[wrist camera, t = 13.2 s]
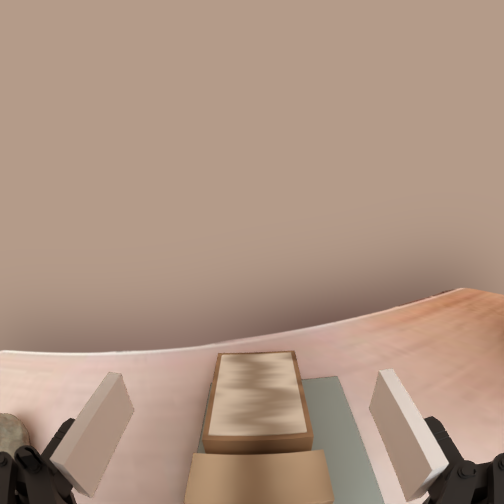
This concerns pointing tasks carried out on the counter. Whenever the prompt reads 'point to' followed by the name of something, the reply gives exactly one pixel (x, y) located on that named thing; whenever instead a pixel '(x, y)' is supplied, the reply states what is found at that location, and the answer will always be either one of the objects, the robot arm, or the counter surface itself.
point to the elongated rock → (12, 434)
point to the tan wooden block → (259, 479)
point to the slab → (257, 406)
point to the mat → (336, 442)
